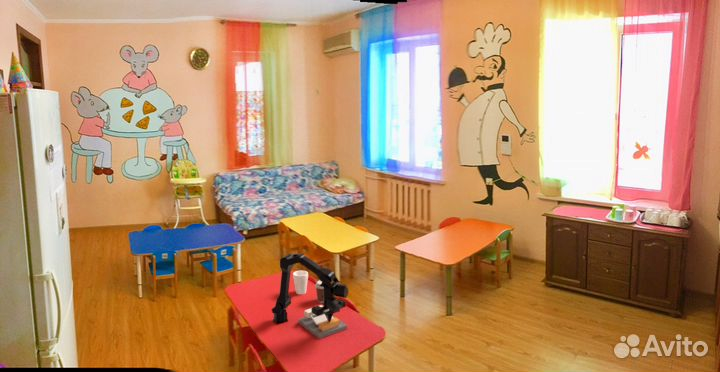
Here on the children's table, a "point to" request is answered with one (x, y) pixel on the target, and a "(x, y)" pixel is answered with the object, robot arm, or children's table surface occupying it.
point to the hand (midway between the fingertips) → (329, 321)
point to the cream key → (309, 312)
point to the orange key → (329, 324)
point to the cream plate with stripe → (319, 318)
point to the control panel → (315, 330)
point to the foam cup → (300, 281)
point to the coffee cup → (319, 291)
